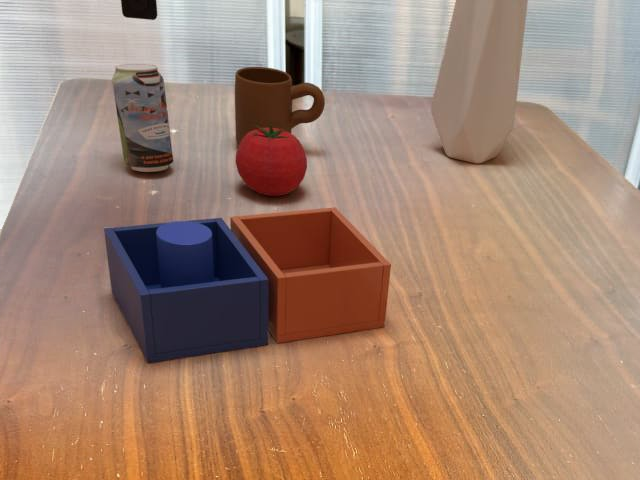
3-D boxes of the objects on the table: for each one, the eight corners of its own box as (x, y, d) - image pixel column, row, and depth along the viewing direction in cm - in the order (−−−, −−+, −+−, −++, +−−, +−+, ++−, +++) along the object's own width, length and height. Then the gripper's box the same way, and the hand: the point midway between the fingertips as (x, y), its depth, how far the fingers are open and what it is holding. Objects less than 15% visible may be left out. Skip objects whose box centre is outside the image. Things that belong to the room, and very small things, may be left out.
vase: (416, 158, 126) (450, -128, 104) (439, 134, 134) (475, -135, 112) (498, 177, 124) (550, -110, 102) (516, 152, 132) (568, -119, 110)
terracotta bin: (277, 343, 85) (277, 278, 80) (231, 279, 94) (230, 216, 89) (384, 327, 90) (391, 264, 85) (332, 267, 98) (335, 207, 94)
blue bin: (147, 363, 80) (140, 294, 76) (111, 293, 89) (103, 228, 84) (268, 344, 85) (268, 279, 80) (223, 280, 93) (221, 217, 89)
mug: (325, 147, 125) (329, 75, 119) (318, 166, 119) (322, 92, 113) (241, 135, 125) (240, 63, 118) (230, 154, 119) (229, 79, 113)
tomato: (231, 201, 108) (230, 133, 103) (240, 174, 114) (239, 109, 109) (303, 208, 109) (306, 141, 103) (308, 181, 115) (310, 117, 110)
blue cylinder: (170, 327, 84) (164, 246, 78) (156, 302, 87) (149, 223, 81) (221, 320, 86) (219, 241, 80) (206, 295, 89) (202, 218, 83)
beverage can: (140, 182, 109) (130, 77, 101) (110, 162, 113) (98, 59, 105) (184, 173, 113) (178, 71, 104) (154, 154, 116) (146, 54, 108)
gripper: (96, -232, 82) (118, -19, 93) (63, -219, 69) (93, 24, 81) (179, -221, 83) (190, -12, 95) (161, -207, 70) (177, 32, 82)
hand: (145, 5), depth 88 cm, fingers open, 9 cm apart
